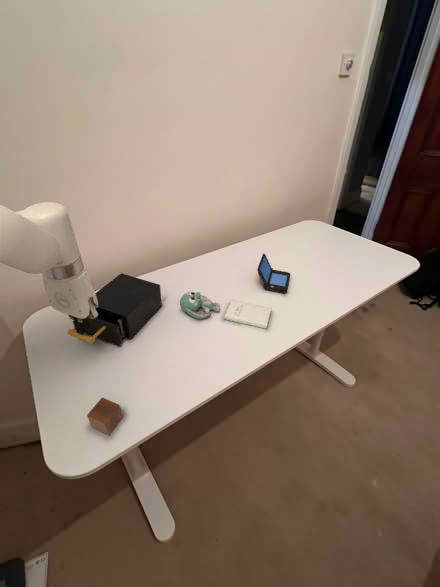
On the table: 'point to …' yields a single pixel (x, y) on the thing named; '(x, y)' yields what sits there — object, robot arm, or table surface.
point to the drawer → (104, 329)
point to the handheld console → (273, 277)
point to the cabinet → (130, 301)
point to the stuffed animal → (197, 305)
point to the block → (105, 416)
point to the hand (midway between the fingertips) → (84, 330)
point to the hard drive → (248, 314)
